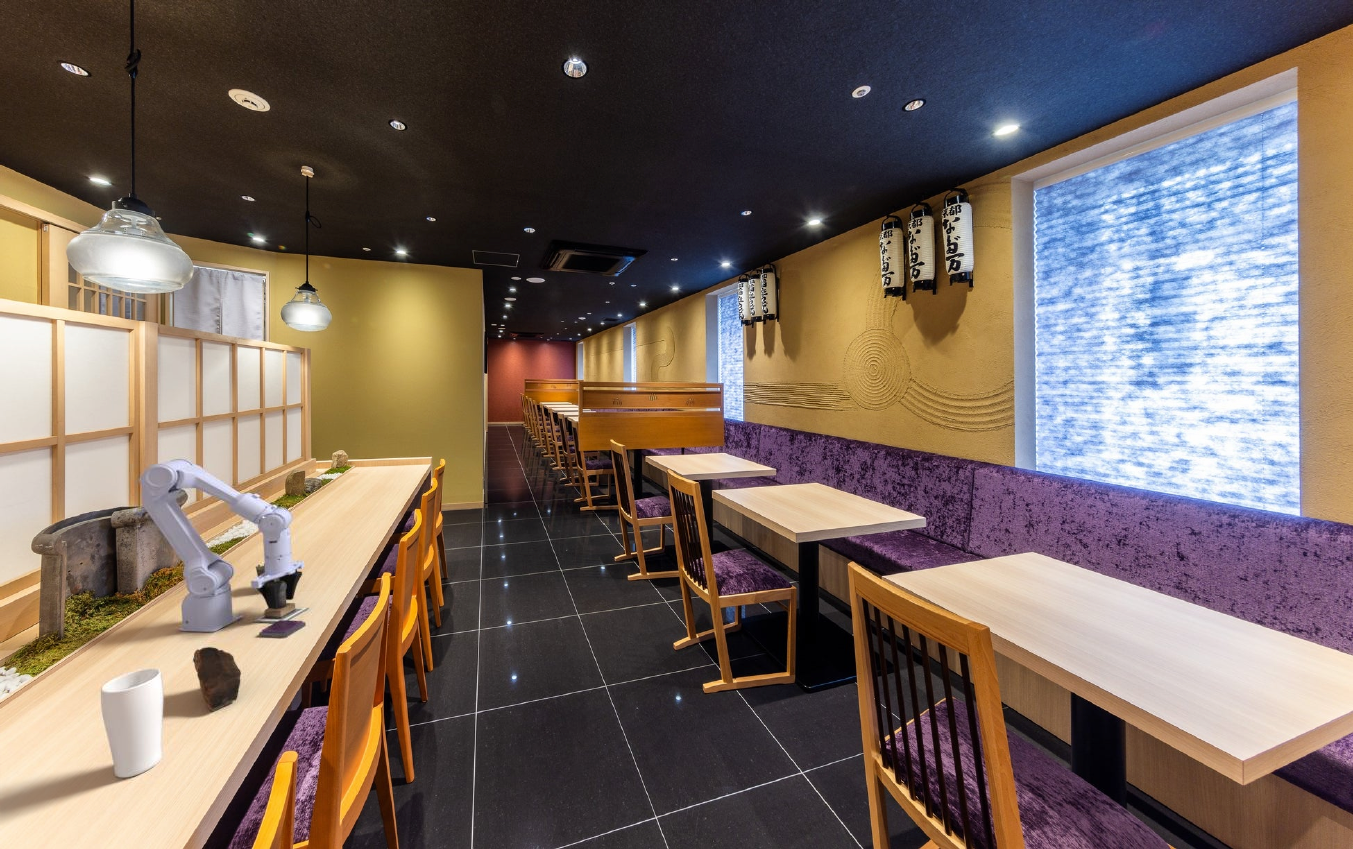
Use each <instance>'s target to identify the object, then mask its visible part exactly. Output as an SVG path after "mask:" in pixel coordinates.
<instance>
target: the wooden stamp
mask: <svg viewBox="0 0 1353 849" xmlns="http://www.w3.org/2000/svg"><path fill="white" fill-rule="evenodd" d="M276 583H282V584H281V586H280V589H279V594H278V607H277V608H268V607H267V608H266V609H264V615H265V618H271V619H282V618H284V617H286V616H287V615H289V614H291V613H293V612H295V611H296V610H295V607H296V603H294V602H291V603H290V602H287V600H286V588H287V584H286V583H285V582H284V581H277V582H276Z"/></svg>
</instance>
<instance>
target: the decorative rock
mask: <svg viewBox="0 0 1353 849" xmlns="http://www.w3.org/2000/svg"><path fill="white" fill-rule="evenodd" d="M192 662H193V663H194V664H193V665H194V669H195V671H196V672H197V674H196V675H197V678H198V681H199V687H200V691H201V694H202V696H203V699H204V703H205V705H206V708H207V709H208V710H210V711H212V712H216V711H218V710H219V709H222V708H224V707H225V706H227V705H230V704H231V703H233V702H234V701H236V700H238V699H237V698H238V695H239V693H240V692H239V689H240V685H241V675H242V672H241V669H240V668H239V667H238V665H237V664H236V661H235V659H234V656H233V655H232V654H231V653H230V652H227V651H225V650H223V649H218V648H217V647H212V646H207V647H202V648H200V649H199V648H198V649H196V650H195V651H194V652H193V658H192Z"/></svg>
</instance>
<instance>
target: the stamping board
mask: <svg viewBox="0 0 1353 849" xmlns="http://www.w3.org/2000/svg"><path fill="white" fill-rule="evenodd" d="M309 609H310V607H301V606H300V607H298V606H295V610H296V611H295V612H293V613H291V614H289V615H287V616H286V617H284V618H282V619H271V618H265V614H264V615H261V616H260V617H258V618H256V619H254V620H252V623H254V622H256V623H257V622H262V623H261V624H274V623H276V622H277V621H279V620H289V621H291V620H292V619H294V618H295V617H298V616H299V615H301V614H302V613H305V612H307V611H308V610H309ZM256 623H255V624H256Z"/></svg>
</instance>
